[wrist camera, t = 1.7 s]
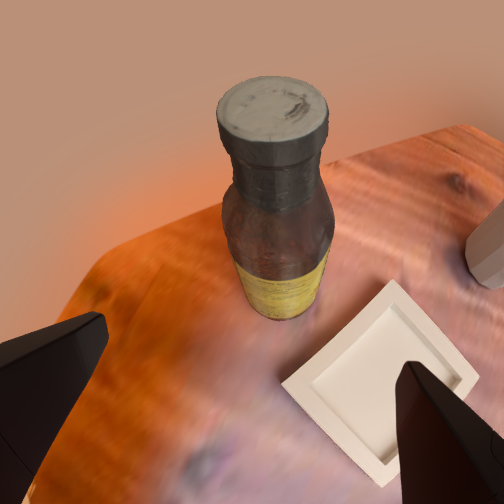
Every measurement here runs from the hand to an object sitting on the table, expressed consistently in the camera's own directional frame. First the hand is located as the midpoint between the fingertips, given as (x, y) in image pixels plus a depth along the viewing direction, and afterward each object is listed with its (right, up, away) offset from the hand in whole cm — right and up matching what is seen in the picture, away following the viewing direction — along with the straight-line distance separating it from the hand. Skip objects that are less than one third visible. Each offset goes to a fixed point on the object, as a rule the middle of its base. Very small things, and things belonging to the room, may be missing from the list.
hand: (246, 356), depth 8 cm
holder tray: (+12, -9, +15) cm, 21 cm away
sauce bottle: (+3, 0, +20) cm, 20 cm away
